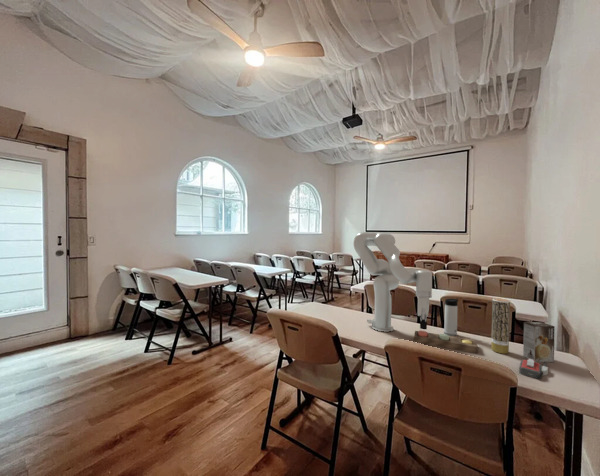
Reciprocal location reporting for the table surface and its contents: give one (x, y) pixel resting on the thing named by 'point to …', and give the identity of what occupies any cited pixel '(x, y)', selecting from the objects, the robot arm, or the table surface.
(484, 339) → the table surface
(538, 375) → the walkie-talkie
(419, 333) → the brick red button
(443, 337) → the sage button
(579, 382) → the table surface
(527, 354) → the coffee box
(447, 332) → the travel mug
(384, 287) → the robot arm
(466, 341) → the ochre button
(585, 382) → the table surface
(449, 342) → the button panel
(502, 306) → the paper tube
